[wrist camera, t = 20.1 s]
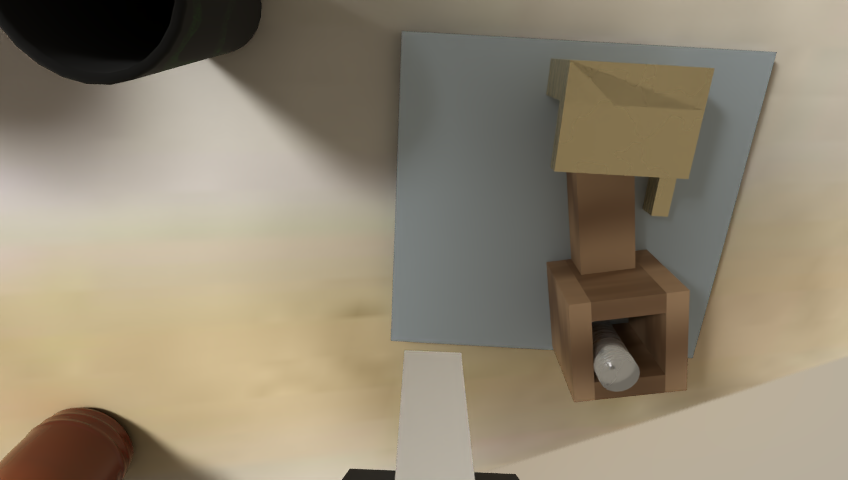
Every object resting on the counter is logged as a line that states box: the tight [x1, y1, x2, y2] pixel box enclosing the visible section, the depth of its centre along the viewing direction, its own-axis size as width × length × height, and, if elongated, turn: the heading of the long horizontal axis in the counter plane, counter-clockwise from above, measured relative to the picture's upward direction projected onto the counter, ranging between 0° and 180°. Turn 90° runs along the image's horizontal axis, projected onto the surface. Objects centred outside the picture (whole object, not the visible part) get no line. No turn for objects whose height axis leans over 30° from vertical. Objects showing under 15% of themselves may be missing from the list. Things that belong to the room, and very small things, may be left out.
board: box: [391, 31, 777, 358], centre depth 33 cm, size 20×21×1 cm
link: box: [546, 172, 690, 402], centre depth 30 cm, size 15×6×6 cm, turn 8°
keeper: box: [546, 58, 715, 217], centre depth 28 cm, size 8×8×4 cm
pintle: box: [592, 320, 640, 392], centre depth 31 cm, size 2×2×7 cm
